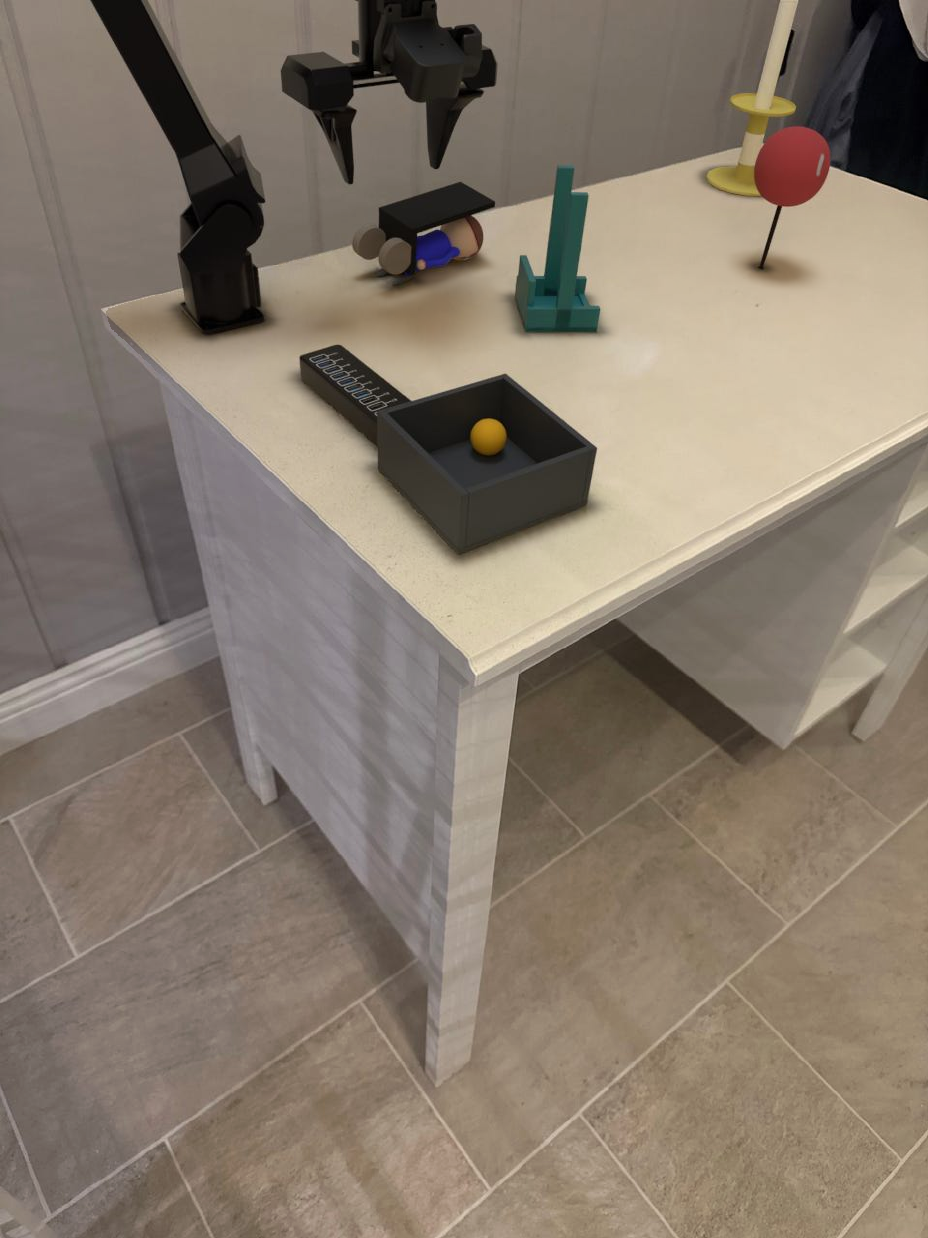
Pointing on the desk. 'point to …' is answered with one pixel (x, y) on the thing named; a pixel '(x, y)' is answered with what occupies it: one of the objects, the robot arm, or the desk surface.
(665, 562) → the desk surface
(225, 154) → the robot arm
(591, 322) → the tray with tall posts
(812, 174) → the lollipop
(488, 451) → the toy ball
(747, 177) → the candle
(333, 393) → the multiport hub
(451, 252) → the figurine character
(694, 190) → the desk surface
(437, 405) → the bin
